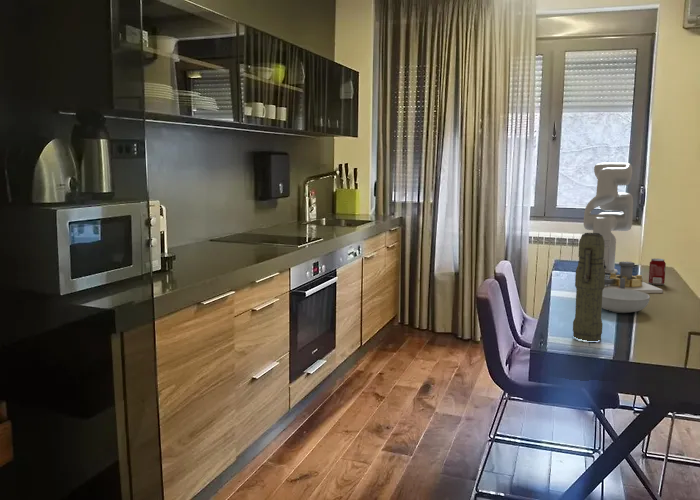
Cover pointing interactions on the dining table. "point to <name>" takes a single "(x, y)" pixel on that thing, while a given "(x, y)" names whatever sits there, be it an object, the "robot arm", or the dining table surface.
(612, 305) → the serving bowl
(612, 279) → the tan ring with handle
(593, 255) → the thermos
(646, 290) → the hub plate
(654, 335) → the dining table surface
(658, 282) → the soda can
